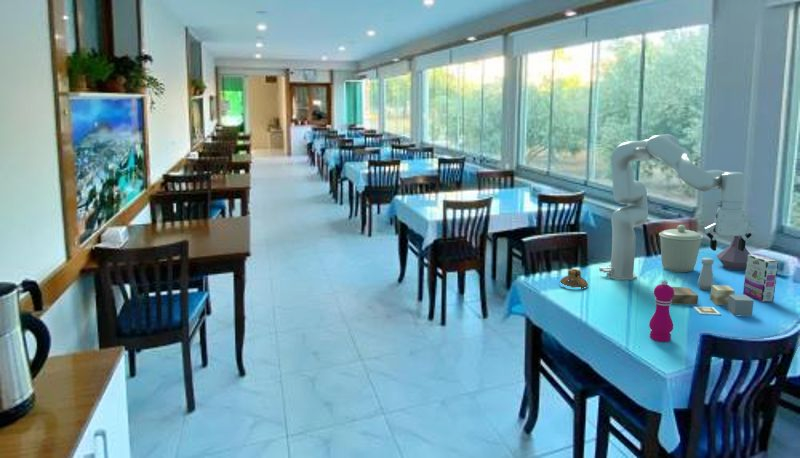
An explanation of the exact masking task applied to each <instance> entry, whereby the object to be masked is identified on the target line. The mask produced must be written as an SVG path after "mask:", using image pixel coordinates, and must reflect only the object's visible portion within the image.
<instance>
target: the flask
mask: <svg viewBox="0 0 800 458" xmlns="http://www.w3.org/2000/svg"><path fill="white" fill-rule="evenodd" d="M739 239H741V238H740V237H739V236H732V240H731V242H730V245H728V246H727V247H726V248H725V249H724V250H722V251H721V252H719V253H718V254H716V258H717V259H718V260H719V261H720V263H721V264H722V266H723V267H725V268H726V269H729V270H735V271H745V270H746V265H747V256H748V255H752V253H750V252H749V250H748V249H747V248H746V247H745V248H744V251H741V250H739V249H738V245H739Z"/></svg>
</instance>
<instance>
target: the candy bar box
mask: <svg viewBox="0 0 800 458" xmlns="http://www.w3.org/2000/svg"><path fill="white" fill-rule="evenodd" d="M779 263H780V262H779V260H776V259H773V258H771V257H767V256H764V255H761V254H751V255H748V256H747V265H746V269H745V274H744V283H743V291H742V292H743V294H742V295H747V296H748V297H750V298H751V299H753V300H756V301H758V302H761V303H774V299H775V291H776V290H775V289H776V284H777V283H776V282H777V275H778V268H779Z"/></svg>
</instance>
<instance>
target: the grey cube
mask: <svg viewBox="0 0 800 458" xmlns="http://www.w3.org/2000/svg"><path fill="white" fill-rule="evenodd" d="M754 300H755V299H753V298H752V297H749V296H747V295H745V294H734V295H729V297H728V305H727V306H726V307H727V308H726V309H727V311H728V312H729V313H731V315H733V316H736V315H741V316H740V317H753V310H754V309H753V308H754V302H755V301H754Z"/></svg>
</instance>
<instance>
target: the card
mask: <svg viewBox="0 0 800 458" xmlns="http://www.w3.org/2000/svg"><path fill="white" fill-rule="evenodd" d="M692 308H693V309H694V310H695V311H696V312H697V313H698V314H699V315H706V316H707V315H710V316H711V315H714V316H721V312H719V311H718V310H717V309H716V308H715V307H713V306H712V307H711V306H693V307H692Z"/></svg>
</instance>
